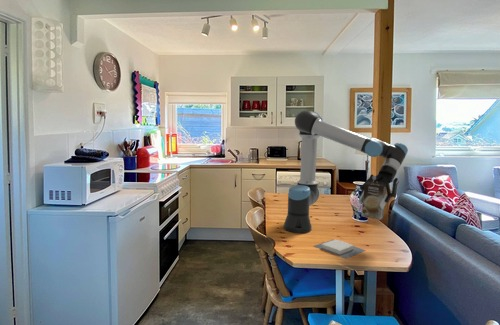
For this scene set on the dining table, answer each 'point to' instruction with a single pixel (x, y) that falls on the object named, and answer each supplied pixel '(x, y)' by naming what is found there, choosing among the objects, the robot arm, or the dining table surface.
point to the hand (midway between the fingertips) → (370, 204)
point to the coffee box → (373, 200)
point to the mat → (345, 255)
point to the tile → (337, 246)
